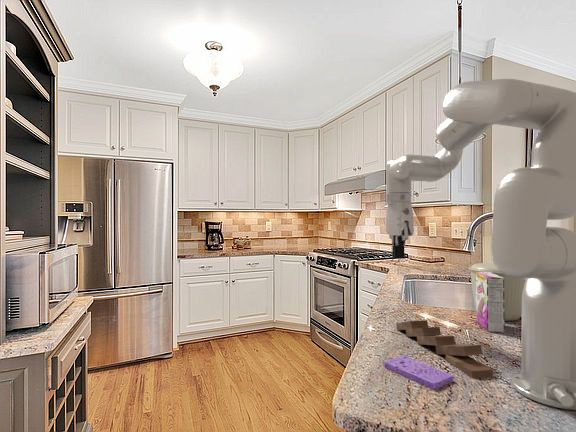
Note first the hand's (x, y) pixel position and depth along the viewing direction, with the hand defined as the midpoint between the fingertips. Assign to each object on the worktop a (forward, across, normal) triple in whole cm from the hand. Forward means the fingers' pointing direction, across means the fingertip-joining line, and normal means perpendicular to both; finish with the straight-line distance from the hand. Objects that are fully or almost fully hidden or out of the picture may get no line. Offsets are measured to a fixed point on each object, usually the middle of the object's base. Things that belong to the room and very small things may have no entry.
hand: (398, 258), depth 109 cm
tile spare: (+21, -27, -1) cm, 34 cm away
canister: (+21, +6, -39) cm, 45 cm away
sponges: (+22, -33, +12) cm, 41 cm away
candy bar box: (+21, -4, -28) cm, 35 cm away
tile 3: (+20, -15, 0) cm, 25 cm away
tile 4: (+20, -9, 0) cm, 22 cm away
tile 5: (+20, -3, 0) cm, 20 cm away
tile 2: (+20, -23, -1) cm, 30 cm away
